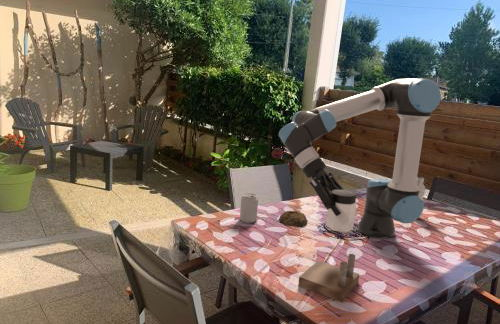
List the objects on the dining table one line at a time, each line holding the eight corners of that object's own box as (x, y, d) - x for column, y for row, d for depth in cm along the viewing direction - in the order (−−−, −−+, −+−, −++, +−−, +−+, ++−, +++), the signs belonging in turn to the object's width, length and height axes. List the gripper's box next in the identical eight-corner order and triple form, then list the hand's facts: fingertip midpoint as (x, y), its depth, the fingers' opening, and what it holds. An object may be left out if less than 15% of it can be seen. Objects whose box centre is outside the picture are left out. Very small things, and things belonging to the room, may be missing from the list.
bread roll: (306, 218, 175) (307, 208, 174) (307, 228, 163) (308, 217, 162) (278, 215, 176) (279, 205, 175) (278, 225, 164) (278, 214, 163)
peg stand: (298, 285, 115) (301, 255, 113) (317, 268, 126) (320, 240, 124) (342, 302, 107) (346, 270, 105) (358, 282, 119) (362, 253, 117)
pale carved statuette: (406, 218, 183) (412, 178, 179) (406, 214, 189) (412, 175, 185) (421, 220, 181) (427, 180, 177) (420, 216, 187) (426, 177, 183)
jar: (334, 220, 132) (338, 187, 130) (356, 227, 127) (361, 193, 124) (321, 226, 125) (325, 192, 123) (344, 234, 120) (348, 198, 118)
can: (254, 224, 162) (256, 198, 160) (238, 222, 164) (239, 196, 161) (258, 219, 170) (259, 193, 167) (241, 216, 171) (243, 191, 169)
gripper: (315, 165, 139) (352, 217, 134) (288, 173, 122) (329, 234, 117) (330, 153, 135) (369, 206, 130) (305, 160, 119) (348, 222, 113)
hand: (350, 219), depth 124 cm, fingers closed on jar, 8 cm apart
